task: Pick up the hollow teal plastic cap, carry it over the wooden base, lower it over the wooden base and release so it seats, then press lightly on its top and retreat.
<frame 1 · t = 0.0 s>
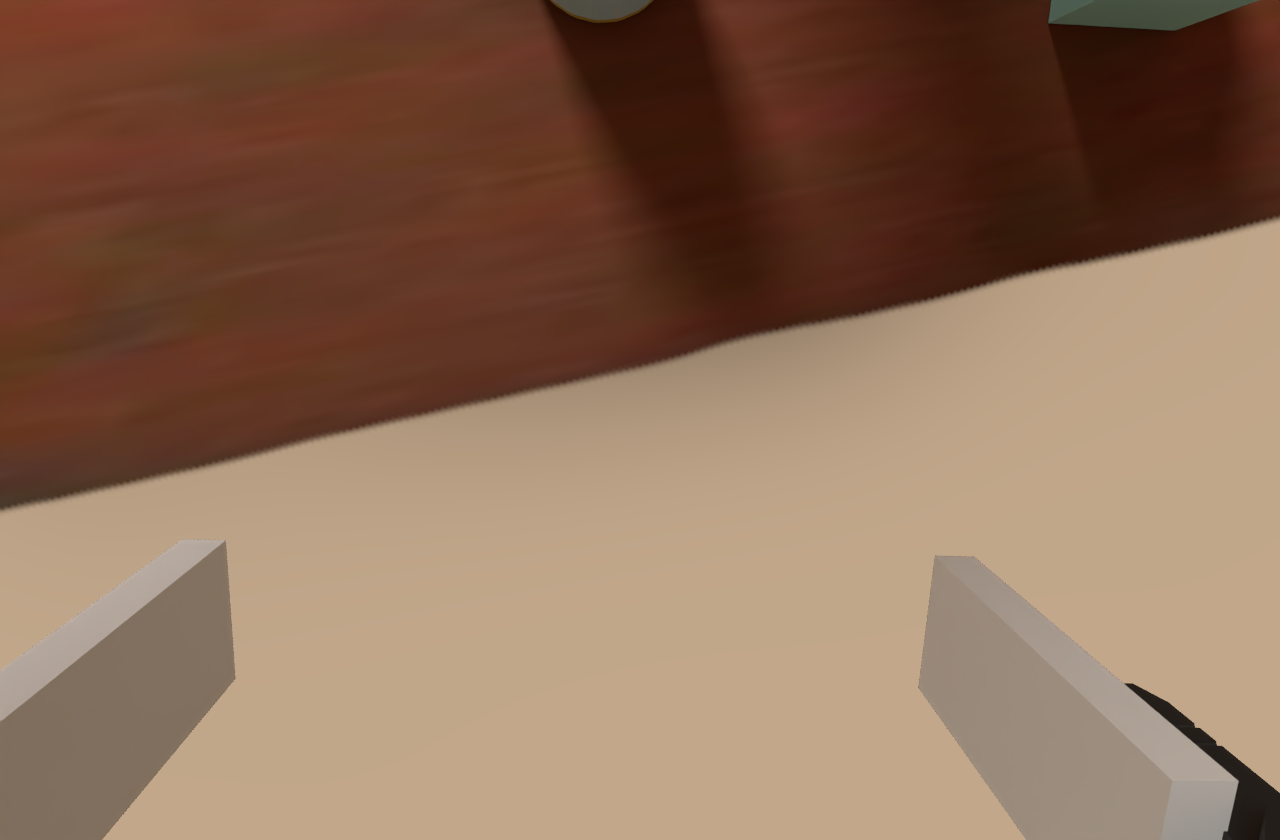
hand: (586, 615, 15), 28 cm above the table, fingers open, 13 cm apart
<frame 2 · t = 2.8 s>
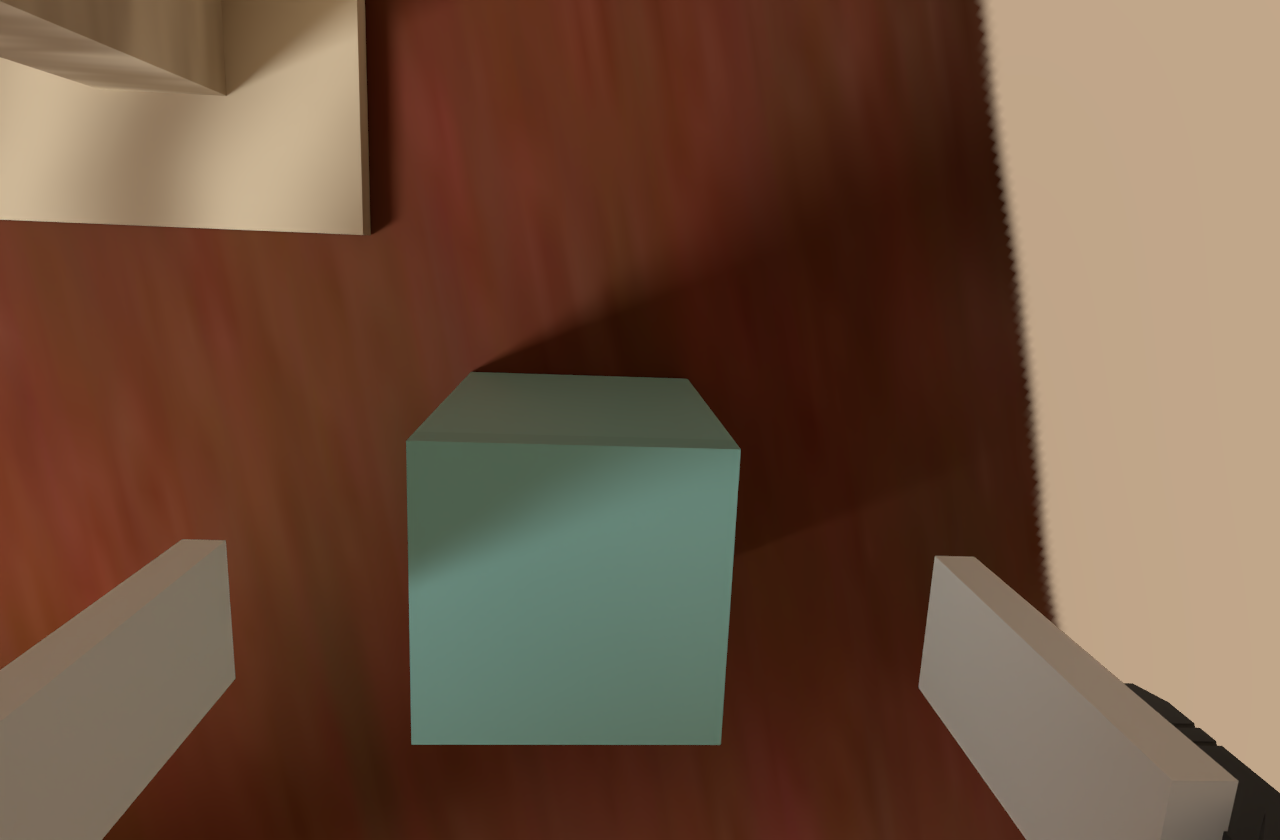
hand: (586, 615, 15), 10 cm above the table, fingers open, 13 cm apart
cap: (577, 479, 25), on the table
wooden base: (173, 34, 22), on the table
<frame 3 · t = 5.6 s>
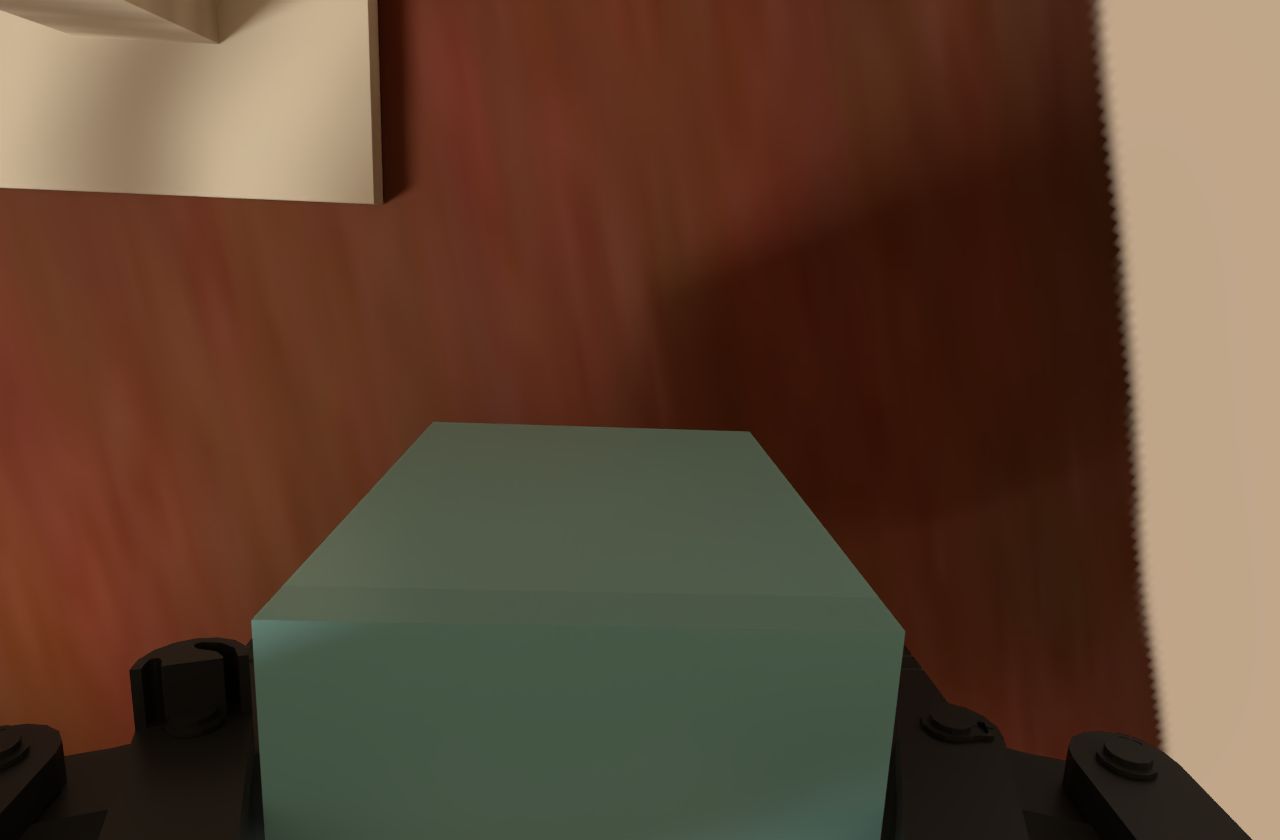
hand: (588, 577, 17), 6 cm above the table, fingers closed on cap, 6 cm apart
cap: (588, 574, 17), point 5 cm above the table, touching gripper
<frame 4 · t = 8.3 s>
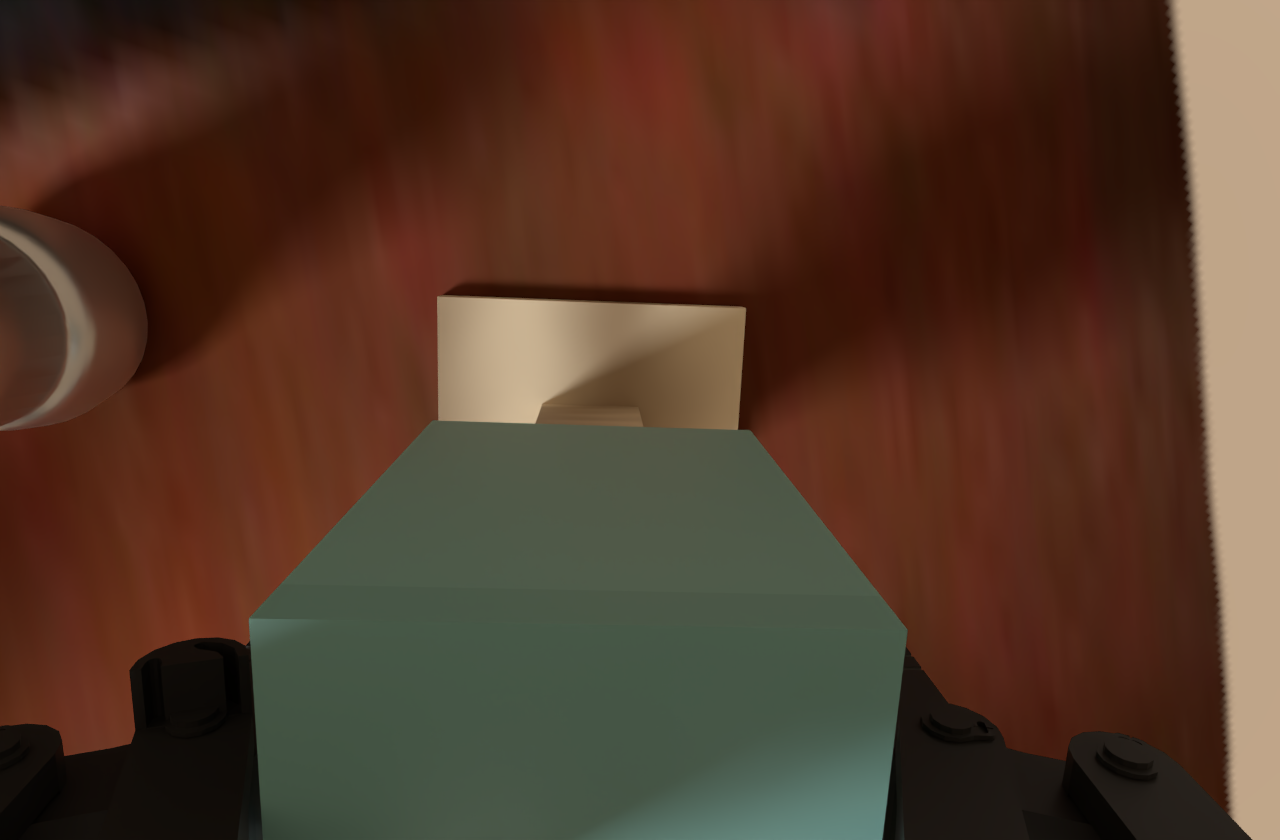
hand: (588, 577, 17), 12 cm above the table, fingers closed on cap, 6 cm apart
cap: (588, 573, 17), point 11 cm above the table, touching gripper
plastic bottle: (71, 311, 27), on the table
wooden base: (589, 446, 28), on the table
when the fingers open (2 cm above the table, at t = 11.2 s): cap stays where it is, resting on wooden base.
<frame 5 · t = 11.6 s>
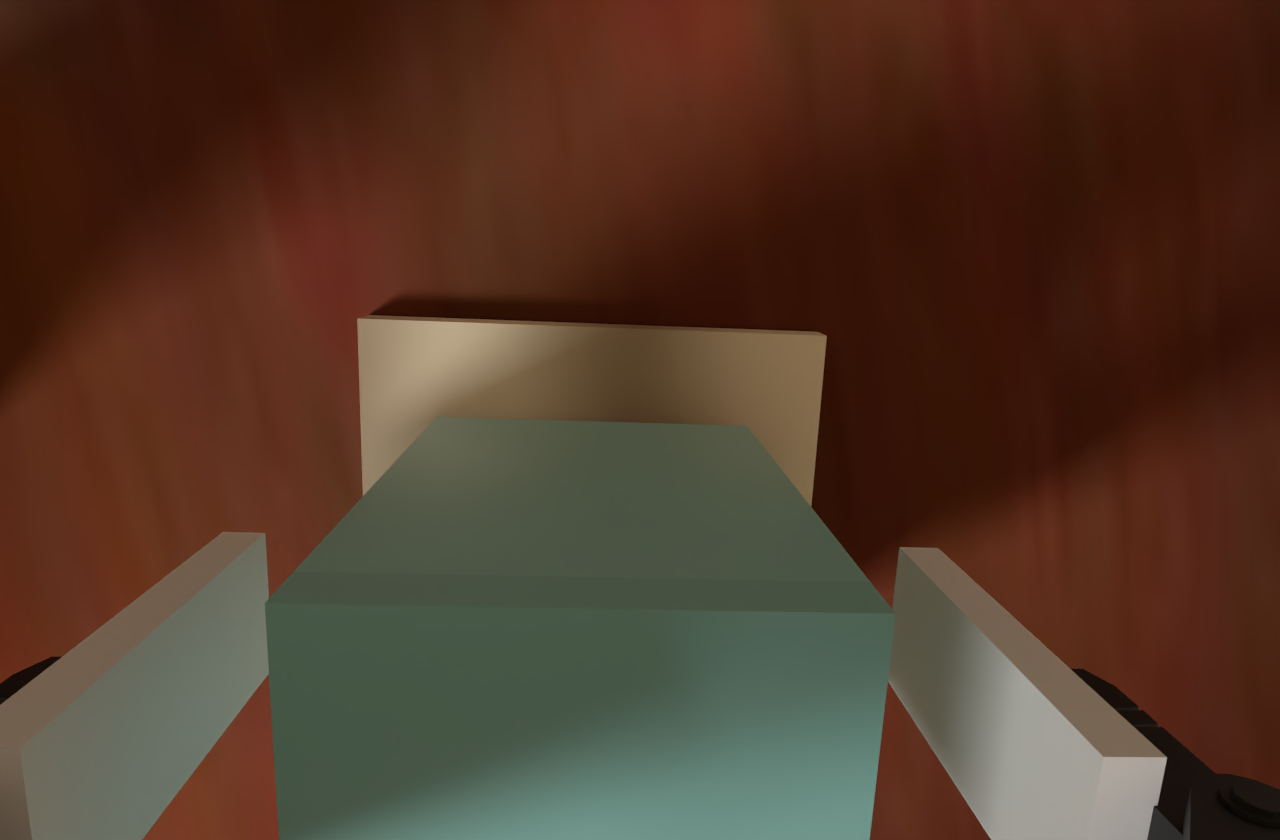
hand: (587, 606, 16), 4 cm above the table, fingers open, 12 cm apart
cap: (589, 566, 18), point 2 cm above the table, touching wooden base
wooden base: (589, 535, 19), on the table
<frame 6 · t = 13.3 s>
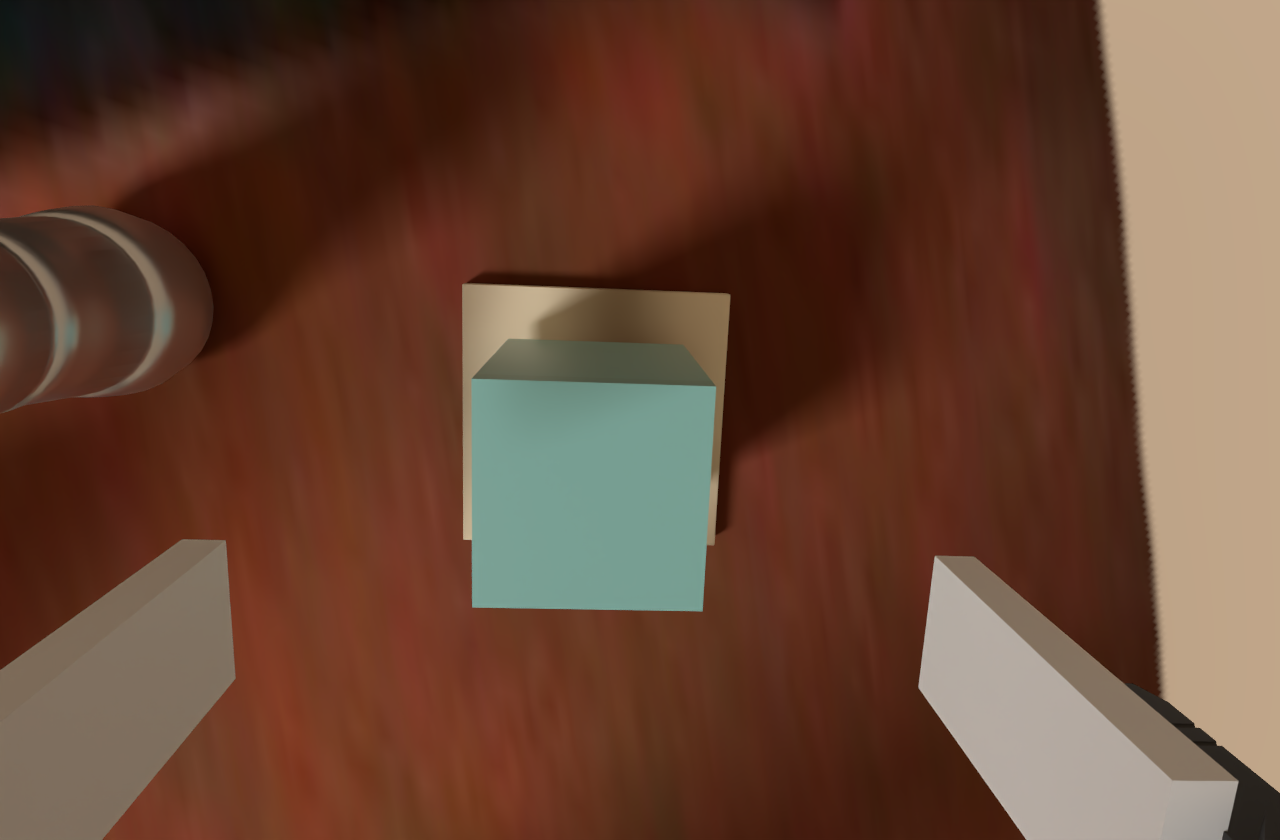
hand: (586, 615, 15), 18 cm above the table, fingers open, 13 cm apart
cap: (593, 426, 31), point 2 cm above the table, touching wooden base
plastic bottle: (145, 296, 31), on the table
wooden base: (593, 415, 33), on the table
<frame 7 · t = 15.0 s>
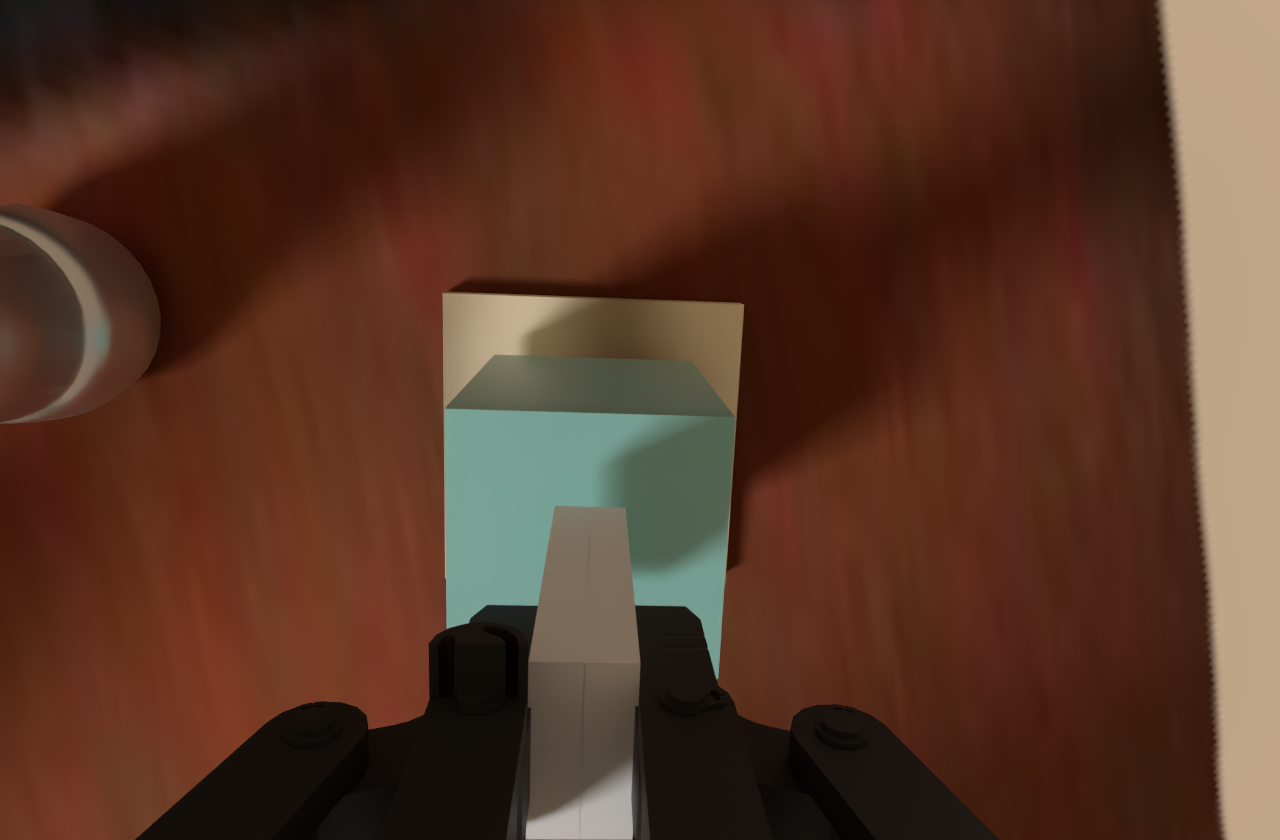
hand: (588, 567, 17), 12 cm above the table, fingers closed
cap: (590, 453, 27), point 2 cm above the table, touching wooden base
plastic bottle: (85, 307, 27), on the table
wooden base: (590, 439, 29), on the table
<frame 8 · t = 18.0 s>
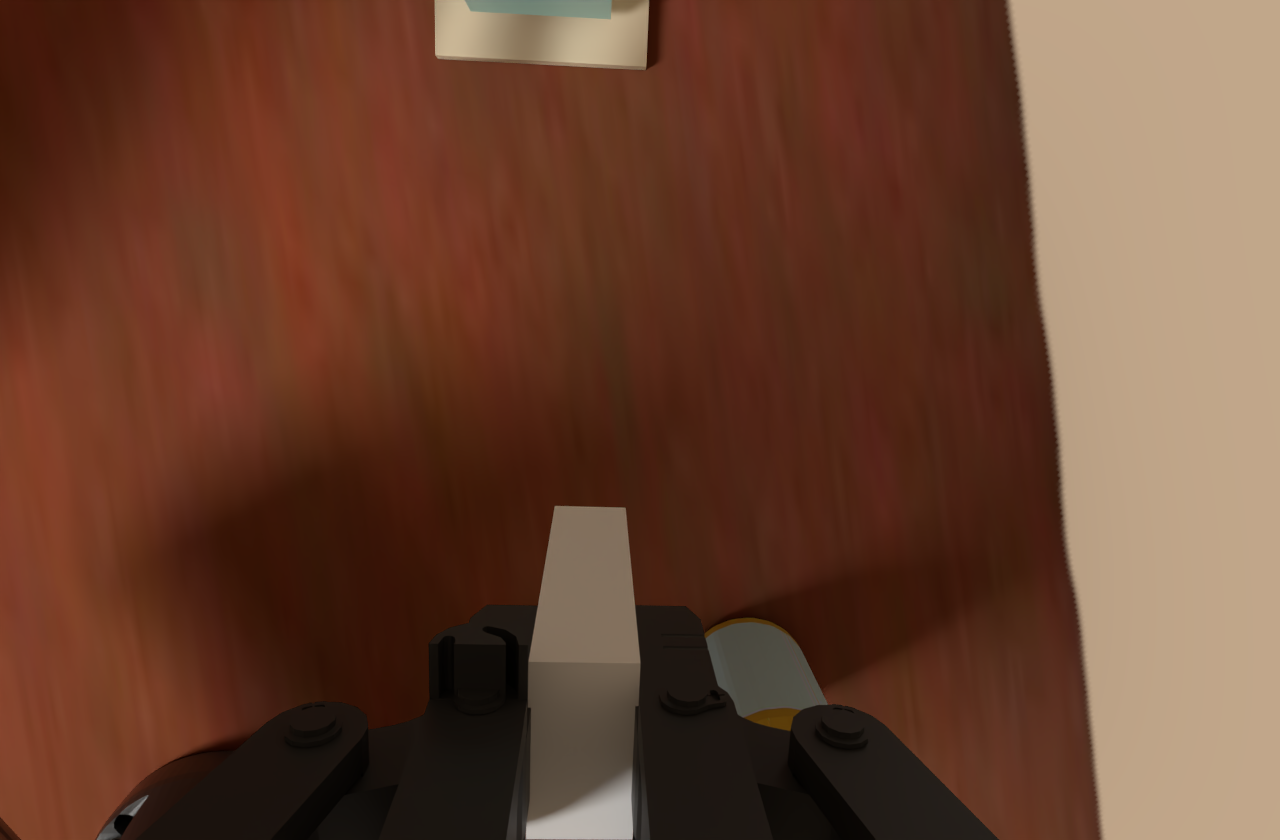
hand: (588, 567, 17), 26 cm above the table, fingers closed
bottle: (741, 666, 48), on the table
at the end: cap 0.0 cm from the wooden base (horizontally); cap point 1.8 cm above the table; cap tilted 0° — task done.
